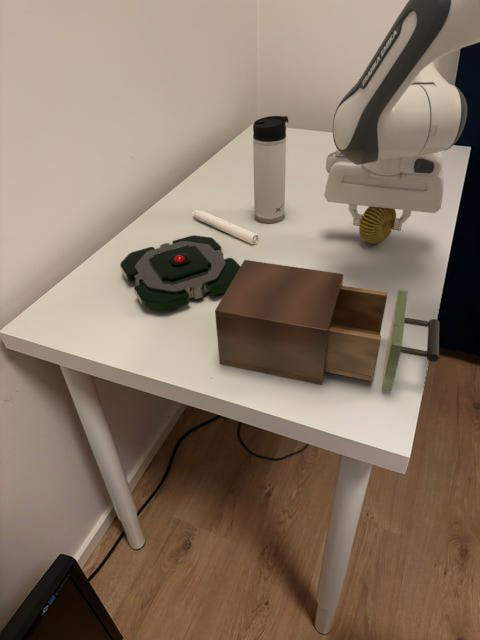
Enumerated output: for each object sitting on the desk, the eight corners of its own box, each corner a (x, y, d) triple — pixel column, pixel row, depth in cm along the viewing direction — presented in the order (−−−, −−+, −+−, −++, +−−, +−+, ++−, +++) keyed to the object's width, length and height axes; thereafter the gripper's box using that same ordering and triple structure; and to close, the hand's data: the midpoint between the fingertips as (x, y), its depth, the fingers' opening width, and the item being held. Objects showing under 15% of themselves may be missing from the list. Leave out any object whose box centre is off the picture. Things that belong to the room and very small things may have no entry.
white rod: (189, 218, 103) (188, 208, 101) (196, 214, 104) (195, 204, 102) (251, 246, 93) (251, 235, 91) (259, 242, 94) (258, 231, 92)
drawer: (431, 340, 69) (444, 296, 64) (429, 398, 61) (444, 353, 56) (306, 318, 74) (309, 276, 69) (288, 370, 66) (290, 326, 61)
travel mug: (286, 223, 99) (289, 122, 87) (254, 224, 100) (252, 124, 87) (285, 209, 104) (287, 112, 91) (254, 210, 104) (252, 113, 92)
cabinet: (337, 326, 74) (343, 273, 68) (322, 384, 65) (327, 330, 58) (246, 310, 78) (244, 259, 71) (219, 363, 68) (214, 310, 62)
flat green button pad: (251, 288, 82) (250, 266, 79) (150, 322, 76) (145, 299, 73) (207, 242, 95) (205, 221, 92) (117, 268, 89) (112, 246, 86)
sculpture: (380, 230, 95) (386, 192, 90) (396, 238, 93) (404, 199, 88) (352, 244, 92) (357, 205, 87) (368, 253, 89) (374, 213, 84)
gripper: (323, 155, 82) (318, 228, 91) (452, 165, 77) (433, 242, 85) (330, 142, 87) (324, 213, 95) (452, 151, 81) (434, 225, 90)
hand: (377, 227), depth 90 cm, fingers closed on sculpture, 6 cm apart
